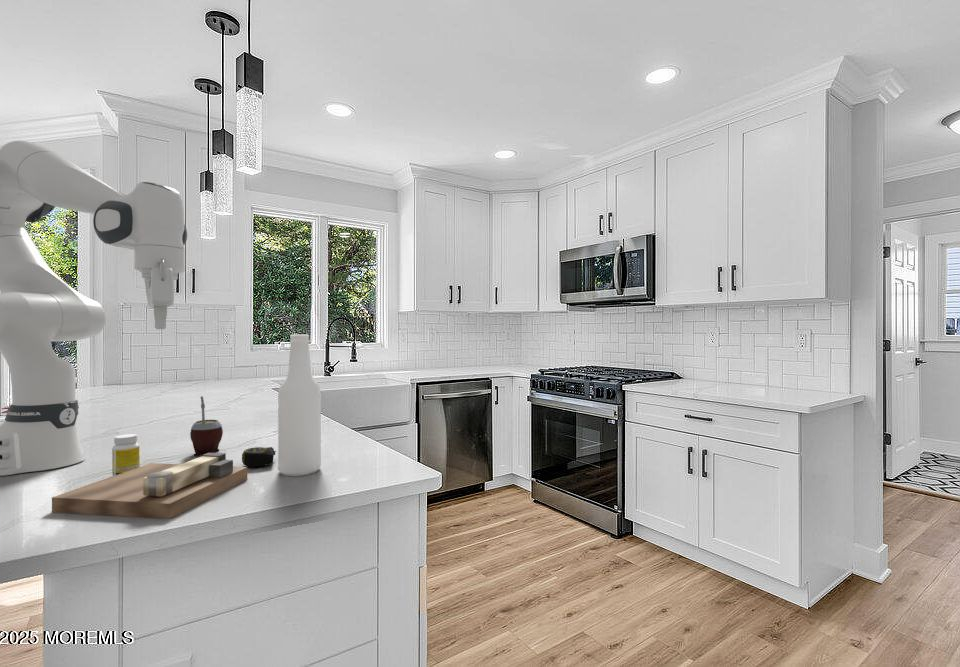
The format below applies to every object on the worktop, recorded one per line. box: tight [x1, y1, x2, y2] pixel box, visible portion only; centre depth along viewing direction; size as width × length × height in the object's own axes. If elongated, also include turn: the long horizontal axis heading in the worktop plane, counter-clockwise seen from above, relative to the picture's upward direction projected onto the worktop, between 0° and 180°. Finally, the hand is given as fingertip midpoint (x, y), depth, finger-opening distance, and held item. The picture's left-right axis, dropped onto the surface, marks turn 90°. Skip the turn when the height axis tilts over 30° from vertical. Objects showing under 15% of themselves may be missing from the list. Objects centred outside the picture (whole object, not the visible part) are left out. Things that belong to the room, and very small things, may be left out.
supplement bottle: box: [111, 433, 141, 476], centre depth 108 cm, size 5×5×8 cm
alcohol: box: [277, 333, 322, 477], centre depth 111 cm, size 9×9×30 cm
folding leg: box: [143, 452, 227, 497], centre depth 95 cm, size 17×4×3 cm, turn 171°
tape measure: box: [241, 446, 277, 468], centre depth 116 cm, size 7×7×4 cm
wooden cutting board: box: [51, 459, 248, 520], centre depth 96 cm, size 22×22×5 cm
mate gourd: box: [189, 396, 224, 457], centre depth 126 cm, size 8×8×15 cm
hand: (160, 329), depth 105 cm, fingers closed
